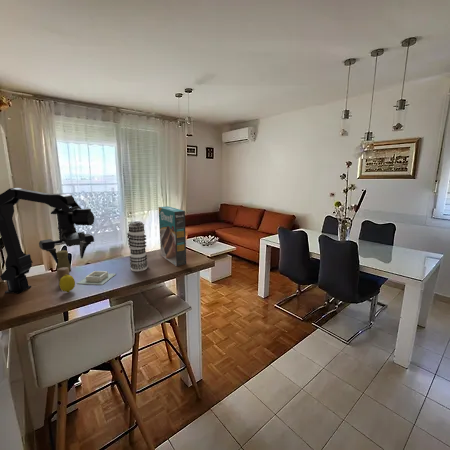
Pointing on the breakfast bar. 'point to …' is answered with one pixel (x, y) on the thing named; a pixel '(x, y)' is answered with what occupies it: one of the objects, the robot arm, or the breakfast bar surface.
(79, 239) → the robot arm
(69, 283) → the lemon
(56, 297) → the breakfast bar surface
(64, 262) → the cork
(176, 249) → the cake mix box
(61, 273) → the peg
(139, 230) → the decorative candle
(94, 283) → the socket
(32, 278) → the breakfast bar surface
